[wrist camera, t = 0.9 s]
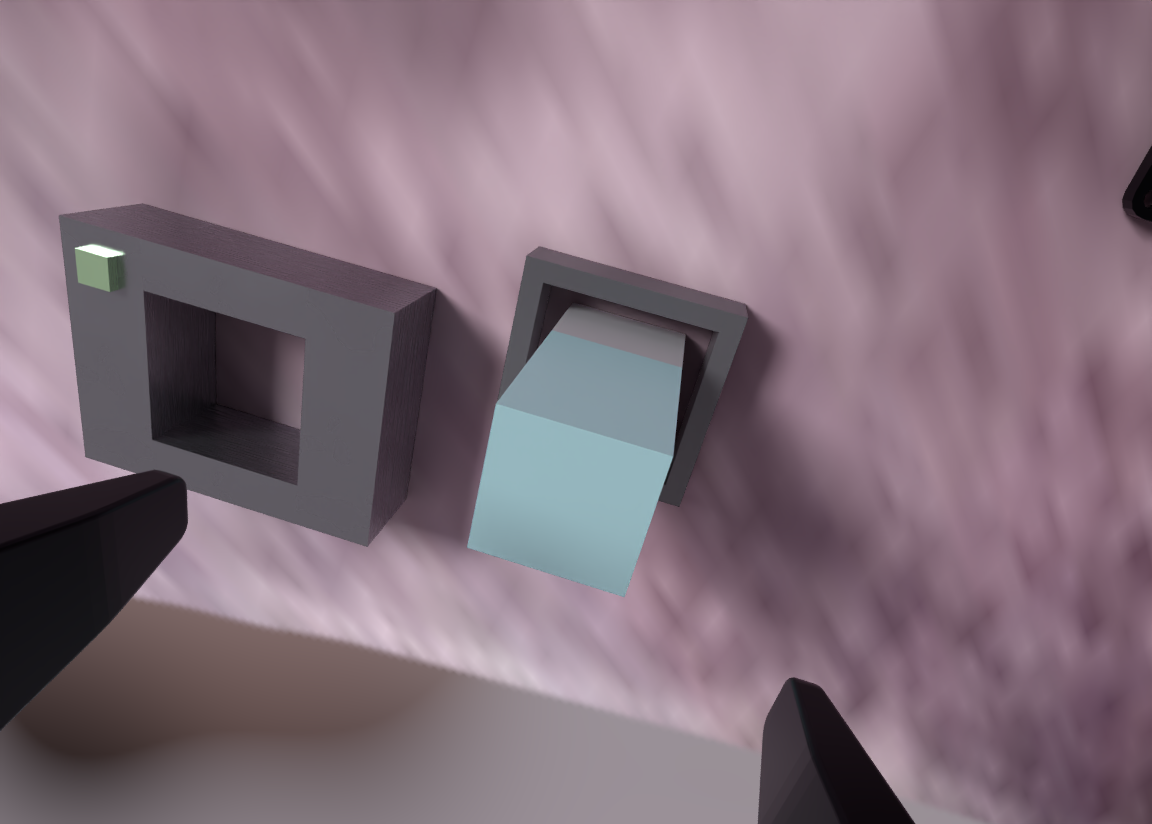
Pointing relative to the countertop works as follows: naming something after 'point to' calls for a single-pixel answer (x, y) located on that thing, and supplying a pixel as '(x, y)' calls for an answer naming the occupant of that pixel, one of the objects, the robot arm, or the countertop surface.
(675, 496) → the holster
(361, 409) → the socket
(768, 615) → the countertop surface
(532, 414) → the plug
